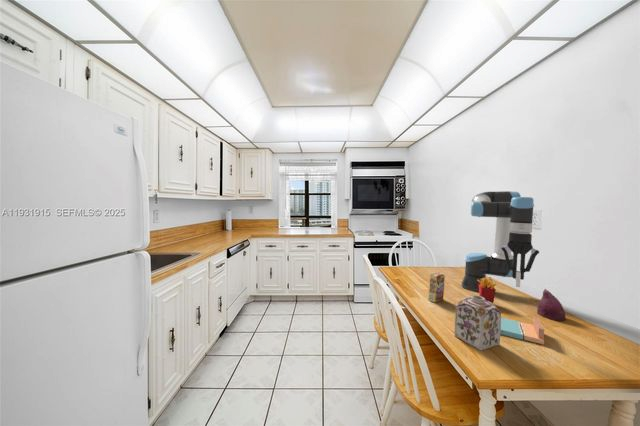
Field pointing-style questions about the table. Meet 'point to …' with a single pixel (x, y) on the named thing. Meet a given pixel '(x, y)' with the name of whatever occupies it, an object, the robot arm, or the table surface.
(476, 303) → the decorative jar
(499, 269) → the robot arm
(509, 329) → the ticket
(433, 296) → the candy box
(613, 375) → the table surface
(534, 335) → the stub
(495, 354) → the table surface
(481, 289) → the french fries
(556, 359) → the table surface
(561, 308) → the vegetable
